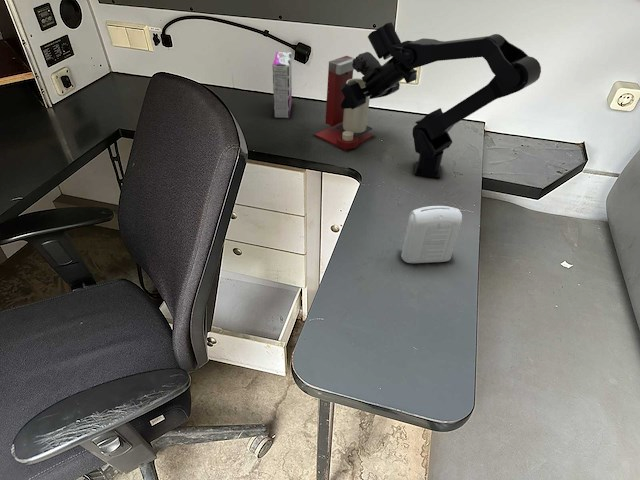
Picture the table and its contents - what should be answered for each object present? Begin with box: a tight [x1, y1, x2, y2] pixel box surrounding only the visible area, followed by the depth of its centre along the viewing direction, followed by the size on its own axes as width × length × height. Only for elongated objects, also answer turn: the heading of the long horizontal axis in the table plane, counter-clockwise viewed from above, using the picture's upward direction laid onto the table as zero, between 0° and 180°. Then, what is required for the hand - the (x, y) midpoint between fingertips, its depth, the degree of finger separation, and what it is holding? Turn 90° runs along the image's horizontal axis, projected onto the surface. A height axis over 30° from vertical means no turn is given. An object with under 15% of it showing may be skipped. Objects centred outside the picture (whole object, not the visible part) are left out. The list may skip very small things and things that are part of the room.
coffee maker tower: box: [325, 55, 373, 137], centre depth 130 cm, size 12×7×18 cm, turn 48°
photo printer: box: [400, 205, 463, 264], centre depth 93 cm, size 10×4×12 cm, turn 98°
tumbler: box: [343, 77, 371, 133], centre depth 131 cm, size 7×7×13 cm
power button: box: [342, 131, 353, 141], centre depth 130 cm, size 3×3×2 cm
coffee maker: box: [314, 122, 374, 152], centre depth 135 cm, size 13×13×2 cm
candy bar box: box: [272, 51, 293, 119], centre depth 143 cm, size 11×5×16 cm, turn 179°
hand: (352, 102), depth 131 cm, fingers open, 9 cm apart
